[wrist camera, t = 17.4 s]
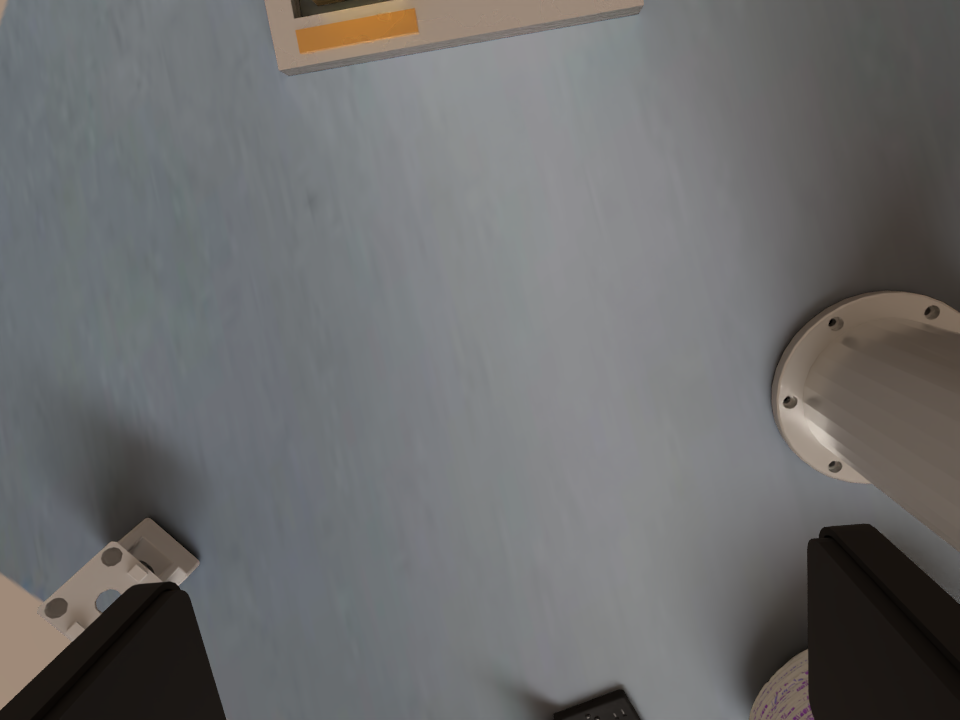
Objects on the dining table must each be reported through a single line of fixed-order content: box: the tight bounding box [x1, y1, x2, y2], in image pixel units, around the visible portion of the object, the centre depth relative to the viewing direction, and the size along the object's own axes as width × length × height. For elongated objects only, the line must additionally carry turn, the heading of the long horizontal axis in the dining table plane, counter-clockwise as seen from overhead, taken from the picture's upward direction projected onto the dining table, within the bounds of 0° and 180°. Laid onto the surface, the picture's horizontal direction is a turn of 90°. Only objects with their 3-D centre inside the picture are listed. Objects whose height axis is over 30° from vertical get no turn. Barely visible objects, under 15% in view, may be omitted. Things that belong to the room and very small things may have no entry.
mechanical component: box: [37, 518, 200, 642], centre depth 40 cm, size 5×8×10 cm
